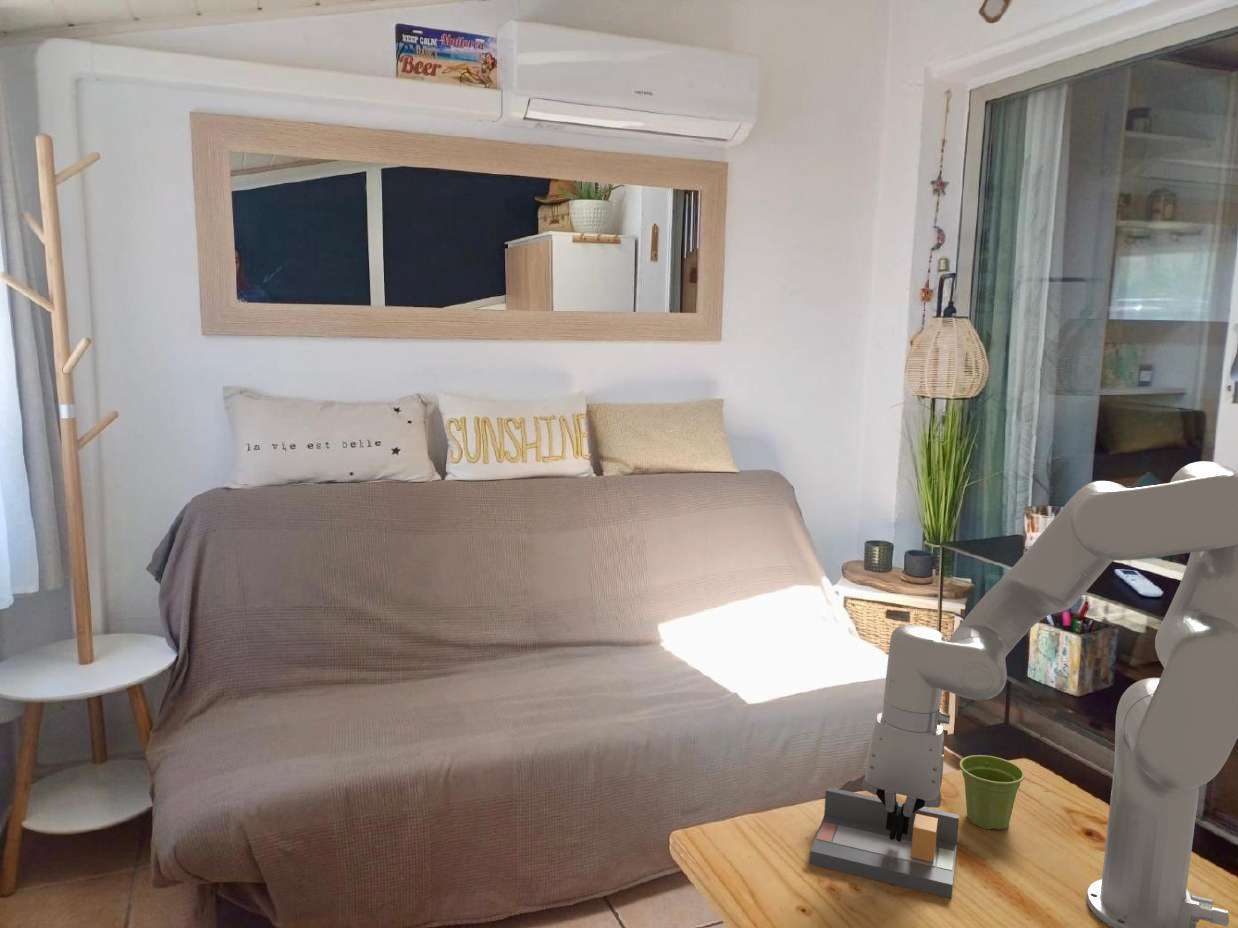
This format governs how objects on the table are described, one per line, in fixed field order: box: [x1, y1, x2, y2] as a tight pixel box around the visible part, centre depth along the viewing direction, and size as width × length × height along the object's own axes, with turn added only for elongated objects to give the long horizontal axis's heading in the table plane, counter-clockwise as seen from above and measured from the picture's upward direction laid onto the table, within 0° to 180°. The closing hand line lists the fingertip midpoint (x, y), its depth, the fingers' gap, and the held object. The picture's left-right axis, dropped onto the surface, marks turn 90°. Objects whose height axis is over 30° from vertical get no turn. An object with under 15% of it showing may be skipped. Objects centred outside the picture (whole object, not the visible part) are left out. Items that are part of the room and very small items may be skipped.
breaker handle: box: [911, 814, 938, 862], centre depth 129 cm, size 3×4×4 cm
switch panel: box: [809, 786, 960, 899], centre depth 132 cm, size 19×12×6 cm, turn 67°
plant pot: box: [959, 754, 1026, 831], centre depth 143 cm, size 9×9×9 cm
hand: (896, 835), depth 131 cm, fingers closed
